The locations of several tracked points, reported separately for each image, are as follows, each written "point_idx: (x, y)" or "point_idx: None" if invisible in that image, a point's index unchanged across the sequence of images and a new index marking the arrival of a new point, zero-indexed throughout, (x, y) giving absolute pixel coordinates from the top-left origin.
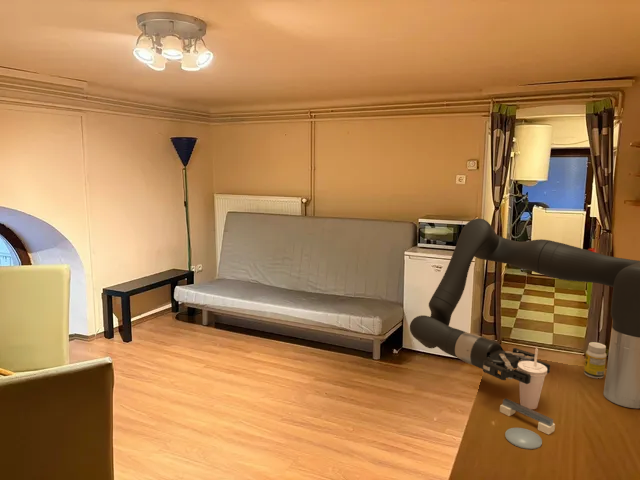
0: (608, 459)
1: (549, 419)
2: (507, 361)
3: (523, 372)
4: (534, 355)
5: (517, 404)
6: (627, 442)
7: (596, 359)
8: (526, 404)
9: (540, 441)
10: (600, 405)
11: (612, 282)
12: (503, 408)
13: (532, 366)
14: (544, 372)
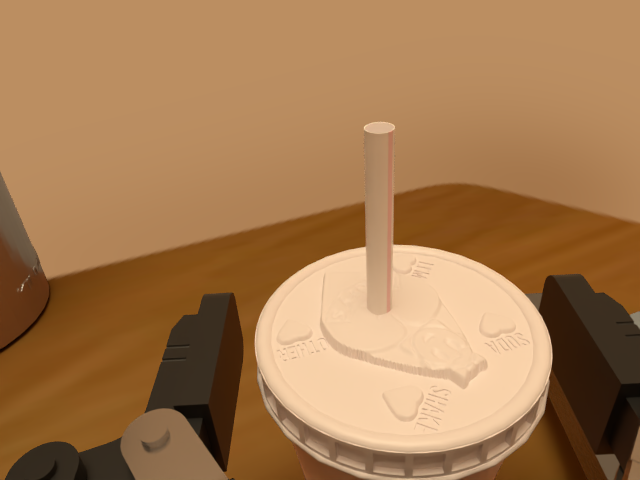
0: (459, 214)
1: (536, 299)
2: None
3: (587, 310)
4: (61, 459)
5: (613, 462)
6: (316, 223)
7: None
8: None
9: (637, 317)
10: (89, 343)
11: None
12: None
13: (414, 309)
14: (398, 247)
